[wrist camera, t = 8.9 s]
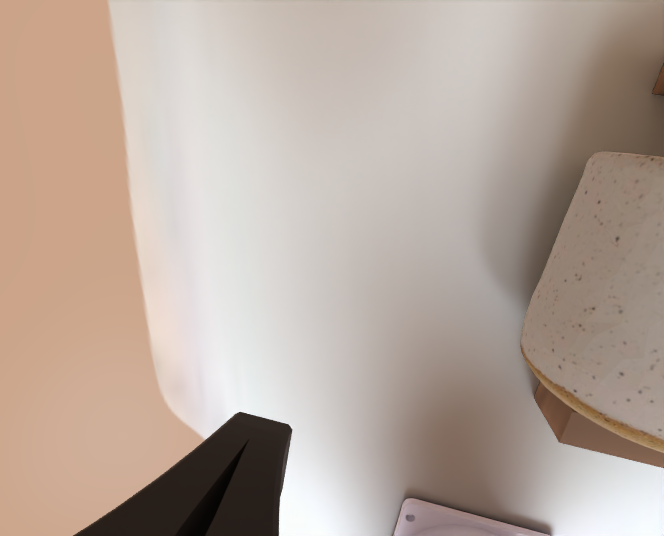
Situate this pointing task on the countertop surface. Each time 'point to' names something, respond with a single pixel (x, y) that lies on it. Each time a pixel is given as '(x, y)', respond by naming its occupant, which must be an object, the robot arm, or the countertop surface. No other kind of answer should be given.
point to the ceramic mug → (606, 300)
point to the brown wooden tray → (583, 430)
